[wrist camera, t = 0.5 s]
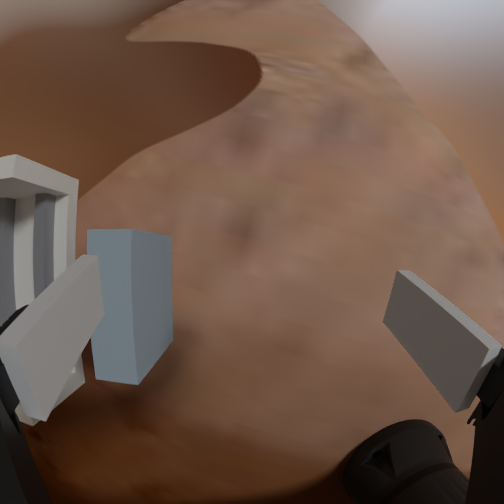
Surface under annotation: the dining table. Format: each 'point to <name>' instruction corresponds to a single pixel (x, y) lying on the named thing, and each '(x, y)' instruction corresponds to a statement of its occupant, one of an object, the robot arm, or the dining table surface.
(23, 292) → the door track
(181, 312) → the dining table surface
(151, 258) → the sliding door panel
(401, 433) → the robot arm
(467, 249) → the dining table surface
